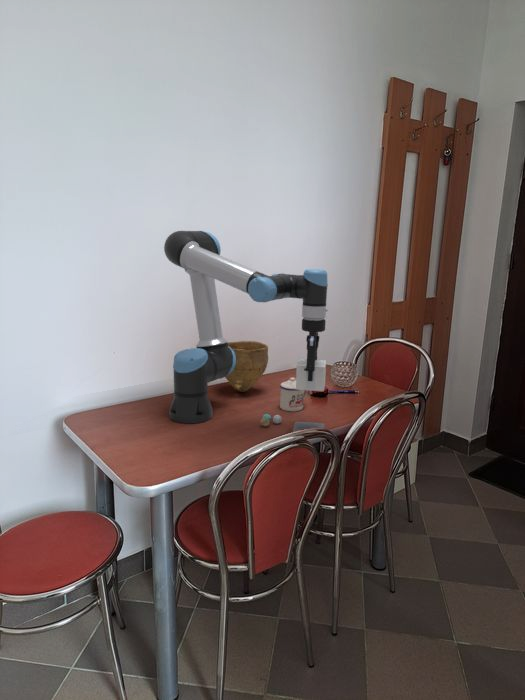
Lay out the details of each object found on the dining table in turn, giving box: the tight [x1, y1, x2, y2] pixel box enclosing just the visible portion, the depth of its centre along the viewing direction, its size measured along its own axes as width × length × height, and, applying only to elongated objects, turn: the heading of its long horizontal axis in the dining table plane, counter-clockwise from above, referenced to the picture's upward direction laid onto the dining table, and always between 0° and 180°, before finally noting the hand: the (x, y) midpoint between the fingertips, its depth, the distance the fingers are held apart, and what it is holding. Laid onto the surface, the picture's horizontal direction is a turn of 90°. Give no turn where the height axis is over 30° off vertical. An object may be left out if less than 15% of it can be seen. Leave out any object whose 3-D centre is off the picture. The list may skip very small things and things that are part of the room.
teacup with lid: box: [279, 377, 308, 412], centre depth 190 cm, size 12×9×12 cm
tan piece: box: [224, 340, 269, 393], centre depth 206 cm, size 21×20×20 cm
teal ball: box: [262, 413, 272, 422], centre depth 175 cm, size 3×3×3 cm
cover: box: [295, 358, 327, 392], centre depth 166 cm, size 9×9×8 cm
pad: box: [292, 420, 325, 433], centre depth 170 cm, size 10×10×1 cm
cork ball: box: [260, 417, 271, 427], centre depth 171 cm, size 3×3×3 cm
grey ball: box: [272, 414, 282, 424], centre depth 174 cm, size 3×3×3 cm
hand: (310, 385), depth 167 cm, fingers closed on cover, 9 cm apart
